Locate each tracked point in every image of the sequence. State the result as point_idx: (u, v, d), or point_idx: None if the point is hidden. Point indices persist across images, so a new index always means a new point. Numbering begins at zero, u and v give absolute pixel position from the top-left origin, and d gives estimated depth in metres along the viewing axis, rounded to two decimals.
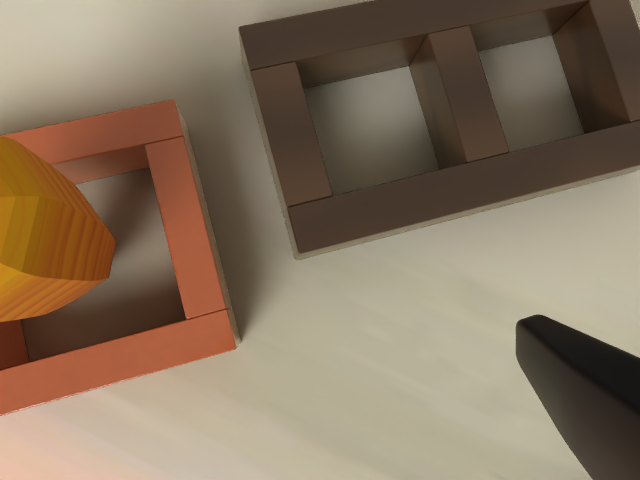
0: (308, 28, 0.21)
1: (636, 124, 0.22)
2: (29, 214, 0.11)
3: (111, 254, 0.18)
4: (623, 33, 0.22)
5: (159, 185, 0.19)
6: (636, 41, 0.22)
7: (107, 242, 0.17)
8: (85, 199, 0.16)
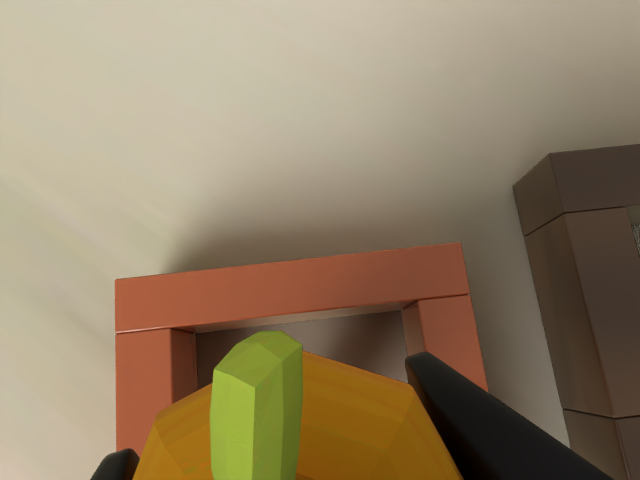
0: None
1: None
2: None
3: None
4: None
5: None
6: None
7: None
8: None
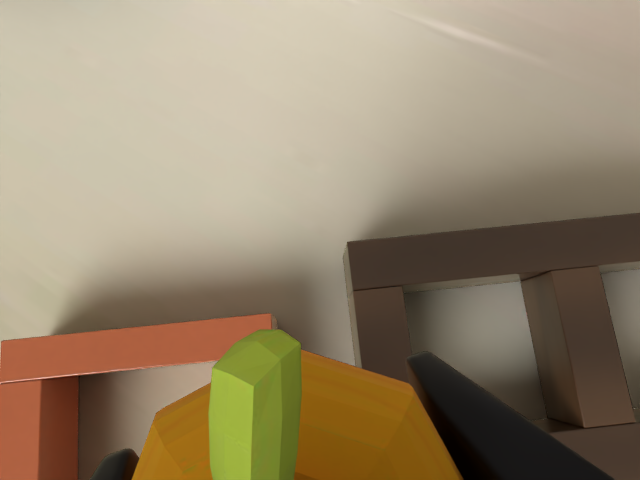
0: (419, 250, 0.19)
1: None
2: None
3: None
4: None
5: None
6: None
7: None
8: None
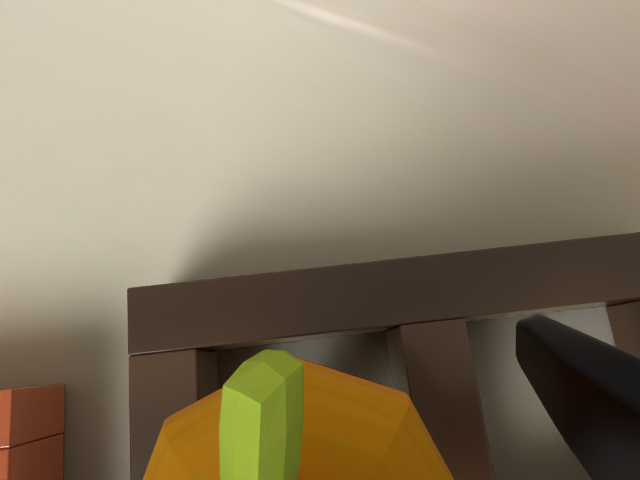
0: (224, 299, 0.14)
1: None
2: None
3: None
4: None
5: None
6: None
7: None
8: None
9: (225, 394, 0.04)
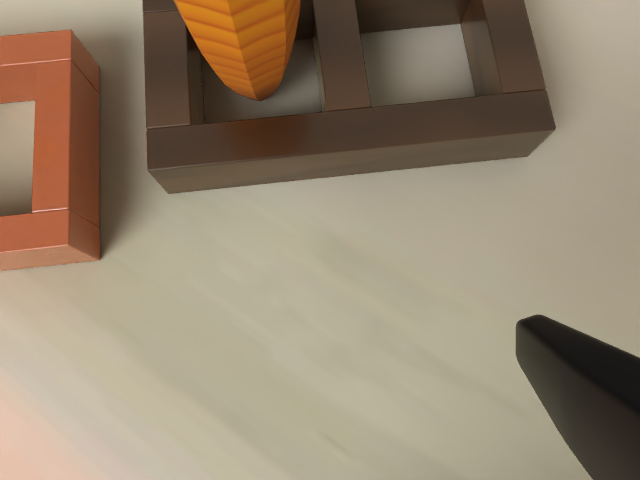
0: None
1: (508, 96, 0.22)
2: None
3: (288, 57, 0.21)
4: (508, 13, 0.23)
5: (39, 97, 0.22)
6: (521, 21, 0.23)
7: (294, 31, 0.20)
8: None
9: None
